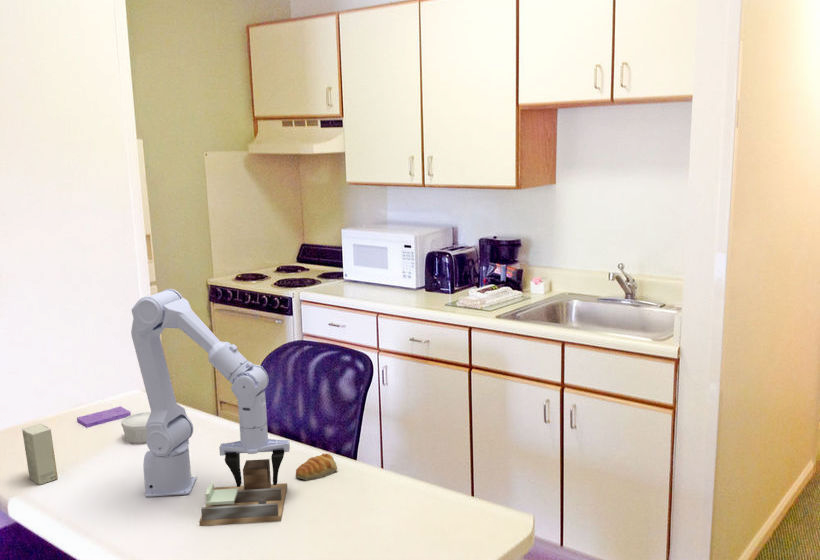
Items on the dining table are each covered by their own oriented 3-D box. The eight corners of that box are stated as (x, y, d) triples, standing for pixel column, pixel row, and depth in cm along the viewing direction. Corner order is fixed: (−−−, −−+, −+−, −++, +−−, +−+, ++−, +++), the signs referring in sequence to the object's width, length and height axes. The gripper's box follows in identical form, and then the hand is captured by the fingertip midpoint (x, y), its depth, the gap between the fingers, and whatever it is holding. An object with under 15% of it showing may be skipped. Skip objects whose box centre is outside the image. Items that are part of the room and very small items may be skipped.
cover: (205, 505, 149) (204, 495, 149) (210, 492, 155) (210, 482, 154) (233, 503, 150) (233, 493, 149) (238, 491, 155) (237, 481, 155)
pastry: (306, 485, 166) (305, 469, 165) (289, 476, 171) (288, 460, 170) (339, 472, 172) (339, 456, 172) (322, 463, 177) (321, 448, 176)
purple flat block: (131, 417, 212) (130, 411, 212) (86, 429, 204) (85, 423, 204) (121, 411, 217) (120, 405, 217) (76, 423, 209) (76, 417, 209)
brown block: (244, 496, 158) (242, 470, 157) (247, 486, 163) (246, 460, 162) (268, 495, 159) (266, 468, 158) (271, 484, 164) (269, 459, 163)
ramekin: (151, 426, 204) (149, 408, 203) (176, 434, 197) (175, 415, 197) (114, 440, 195) (112, 420, 194) (139, 449, 189) (137, 429, 188)
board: (199, 525, 149) (198, 509, 148) (213, 491, 163) (212, 477, 163) (280, 520, 150) (279, 505, 149) (287, 487, 164) (286, 473, 164)
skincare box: (58, 479, 172) (52, 429, 170) (38, 486, 169) (32, 434, 167) (47, 471, 176) (41, 422, 174) (27, 478, 173) (21, 428, 171)
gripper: (215, 432, 154) (219, 494, 156) (286, 429, 155) (289, 490, 157) (221, 420, 161) (225, 479, 163) (289, 417, 162) (292, 475, 164)
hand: (257, 484), depth 161 cm, fingers open, 7 cm apart
